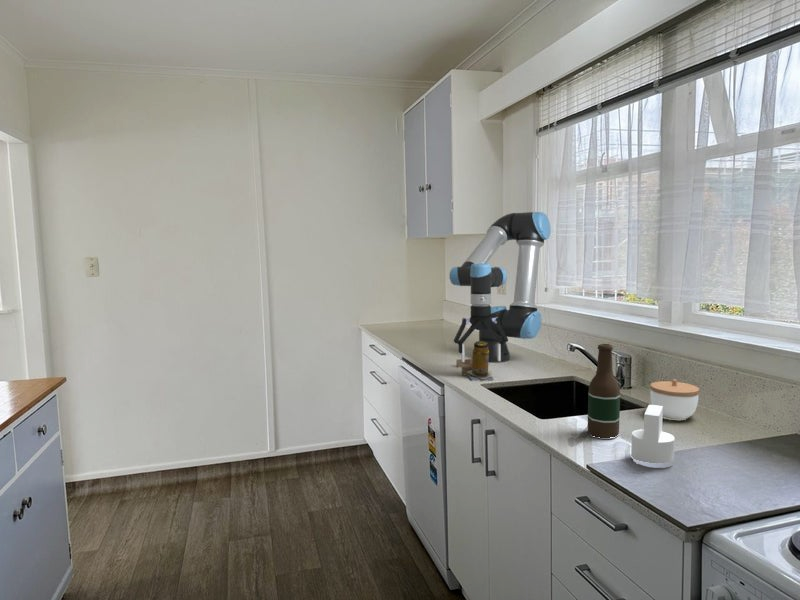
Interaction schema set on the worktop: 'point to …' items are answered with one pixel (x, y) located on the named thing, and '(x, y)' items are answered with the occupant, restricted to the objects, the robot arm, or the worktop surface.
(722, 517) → the worktop surface
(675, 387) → the lidded bowl
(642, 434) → the base with upright slab
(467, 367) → the rack
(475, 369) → the condiment
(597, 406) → the beer bottle
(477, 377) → the coaster
